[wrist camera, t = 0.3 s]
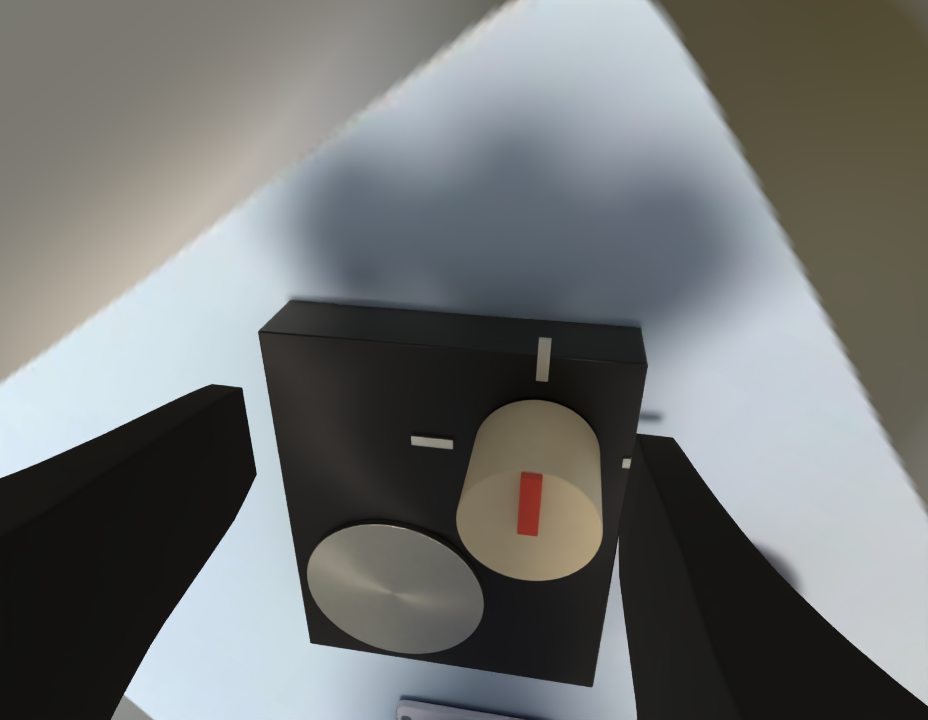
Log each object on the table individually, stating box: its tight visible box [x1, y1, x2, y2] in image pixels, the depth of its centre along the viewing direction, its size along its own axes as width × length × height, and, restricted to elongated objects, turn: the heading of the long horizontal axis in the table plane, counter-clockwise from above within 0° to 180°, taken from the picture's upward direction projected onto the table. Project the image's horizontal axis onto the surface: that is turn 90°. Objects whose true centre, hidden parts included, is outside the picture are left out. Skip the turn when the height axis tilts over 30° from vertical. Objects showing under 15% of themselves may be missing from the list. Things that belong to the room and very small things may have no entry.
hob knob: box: [456, 400, 603, 581], centre depth 19 cm, size 4×4×4 cm
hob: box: [258, 301, 648, 687], centre depth 23 cm, size 16×13×3 cm
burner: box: [307, 519, 485, 654], centre depth 24 cm, size 7×7×1 cm
